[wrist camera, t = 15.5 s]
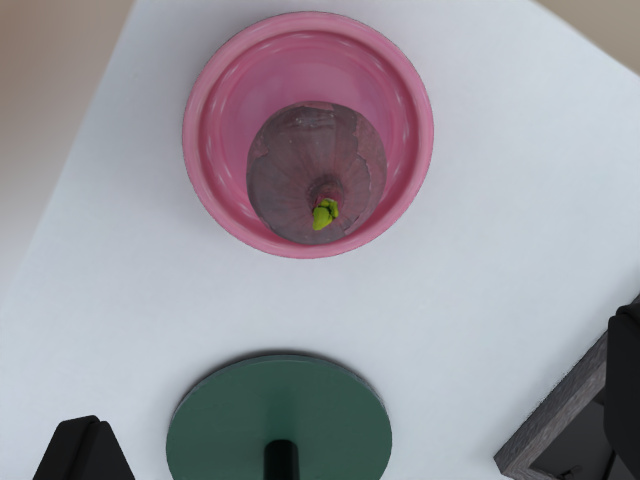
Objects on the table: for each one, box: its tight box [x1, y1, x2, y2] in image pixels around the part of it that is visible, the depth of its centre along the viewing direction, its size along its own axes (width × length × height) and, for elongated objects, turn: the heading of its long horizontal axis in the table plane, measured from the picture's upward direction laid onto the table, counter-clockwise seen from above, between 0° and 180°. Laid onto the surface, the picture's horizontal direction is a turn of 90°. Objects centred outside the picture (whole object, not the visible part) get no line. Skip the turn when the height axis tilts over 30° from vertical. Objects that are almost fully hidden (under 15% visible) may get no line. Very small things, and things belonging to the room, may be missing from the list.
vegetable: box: [246, 101, 387, 245], centre depth 23 cm, size 6×6×10 cm
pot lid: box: [166, 355, 392, 480], centre depth 36 cm, size 15×15×7 cm
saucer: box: [182, 11, 434, 259], centre depth 29 cm, size 12×12×3 cm
